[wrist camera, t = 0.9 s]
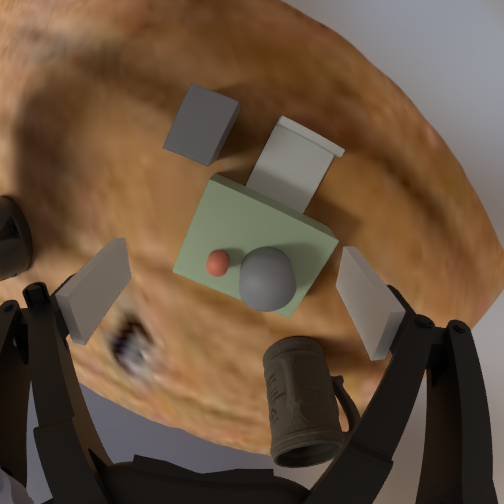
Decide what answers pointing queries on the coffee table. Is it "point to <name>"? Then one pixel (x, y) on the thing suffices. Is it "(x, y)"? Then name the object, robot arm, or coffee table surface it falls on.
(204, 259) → the green base with dome
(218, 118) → the tall grey cuboid
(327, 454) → the beer stein
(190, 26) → the coffee table surface
